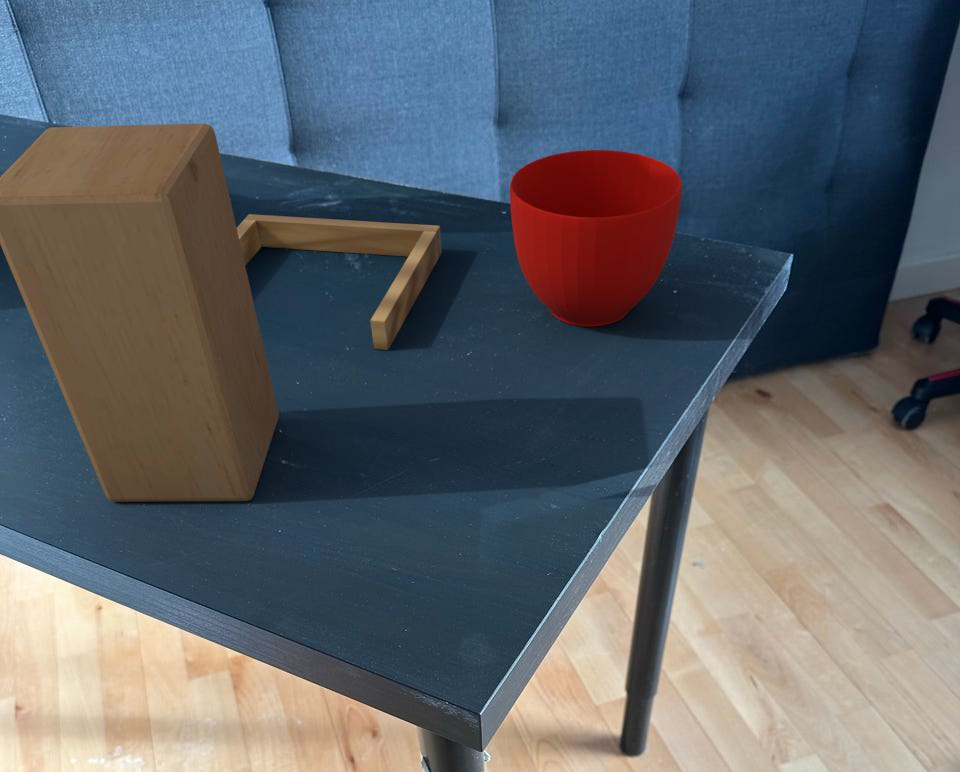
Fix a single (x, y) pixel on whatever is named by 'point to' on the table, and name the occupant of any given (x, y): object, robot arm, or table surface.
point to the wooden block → (143, 306)
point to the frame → (356, 238)
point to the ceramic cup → (593, 230)
